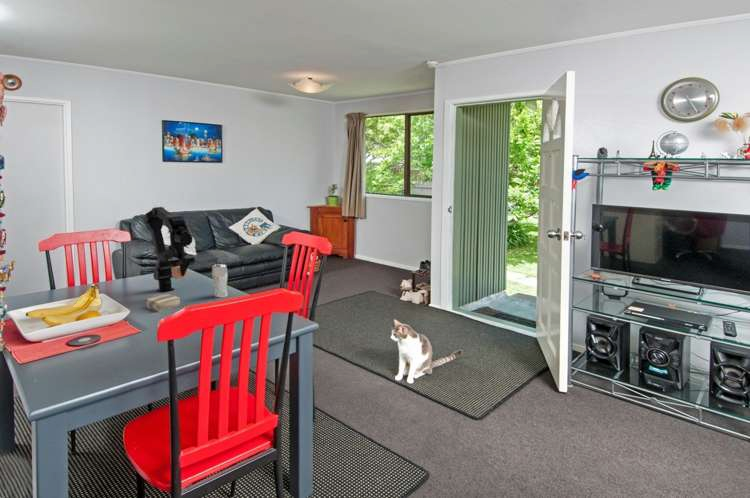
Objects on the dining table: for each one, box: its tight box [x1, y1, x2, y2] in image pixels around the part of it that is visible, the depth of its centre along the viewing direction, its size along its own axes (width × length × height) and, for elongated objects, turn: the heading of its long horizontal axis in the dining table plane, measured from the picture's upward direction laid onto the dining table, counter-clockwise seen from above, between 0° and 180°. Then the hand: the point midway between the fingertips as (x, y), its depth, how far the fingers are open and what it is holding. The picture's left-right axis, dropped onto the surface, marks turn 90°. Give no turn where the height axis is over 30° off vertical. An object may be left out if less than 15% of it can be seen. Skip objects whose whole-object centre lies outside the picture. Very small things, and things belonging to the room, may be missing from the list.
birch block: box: [145, 293, 181, 313], centre depth 214 cm, size 10×10×4 cm
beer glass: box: [211, 263, 229, 298], centre depth 230 cm, size 7×7×15 cm
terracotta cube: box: [171, 266, 189, 280], centre depth 227 cm, size 5×5×5 cm
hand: (179, 275), depth 227 cm, fingers closed on terracotta cube, 5 cm apart
